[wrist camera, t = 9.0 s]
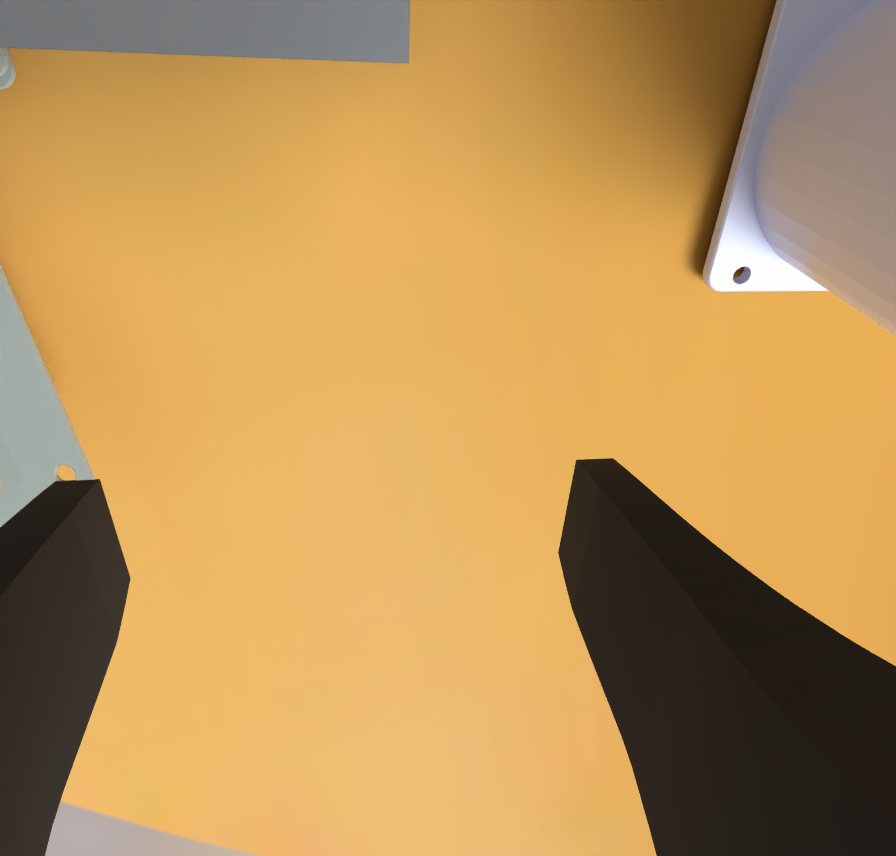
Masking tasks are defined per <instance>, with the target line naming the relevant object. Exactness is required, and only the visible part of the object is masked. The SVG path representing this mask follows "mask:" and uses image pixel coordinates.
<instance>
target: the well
mask: <svg viewBox="0 0 896 856" xmlns="http://www.w3.org/2000/svg"><path fill="white" fill-rule="evenodd" d="M409 9H410V0H0V48H23V49H49V50H75V51H101V52H127V53H152V54H178V55H204V56H230V57H256V58H282V59H307V60H333V61H359V62H385V63H409Z"/></svg>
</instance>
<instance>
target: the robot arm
mask: <svg viewBox="0 0 896 856" xmlns="http://www.w3.org/2000/svg"><path fill="white" fill-rule="evenodd" d="M740 267H744V271H743V273H742V275H740V276H739V277H738V278H735V279H733V275H734V273H735V271H736V270H737V269H739V268H740ZM703 280H704V282H705V283H706V284H707V285H708V286H709V287H710V288H711V289H713V290H714V291H719V292H732V291H830V292H831V293H833V294H834V295H836V296H837V297H839V298H840V299H842V300H843V301H845V302H846V303H848V304H849V305H851V306H852V307H853V308H855V309H856V310H858V311H859V312H861V313H862V314H864V315H865V316H867V317H868V318H870V319H871V320H873V321H874V322H876V323H877V324H879V325H880V326H882V327H883V328H885V329H886V330H888V331H889V332H891V333H892V334H894V335H895V336H896V0H777V1H776V4H775V8H774V12H773V16H772V19H771V23H770V27H769V30H768V34H767V38H766V41H765V45H764V49H763V52H762V56H761V60H760V63H759V67H758V71H757V74H756V78H755V82H754V85H753V89H752V93H751V97H750V100H749V104H748V108H747V111H746V115H745V119H744V122H743V126H742V130H741V133H740V137H739V141H738V144H737V148H736V152H735V155H734V159H733V163H732V166H731V170H730V174H729V177H728V181H727V185H726V189H725V192H724V196H723V200H722V203H721V207H720V211H719V214H718V218H717V222H716V225H715V229H714V233H713V236H712V240H711V244H710V247H709V251H708V255H707V258H706V262H705V266H704V270H703ZM558 553H559V558H560V562H561V566H562V570H563V575H564V579H565V583H566V587H567V591H568V595H569V599H570V602H571V606H572V610H573V612H574V615H575V618H576V620H577V623H578V626H579V628H580V631H581V634H582V636H583V639H584V641H585V644H586V647H587V649H588V652H589V654H590V657H591V659H592V662H593V665H594V667H595V670H596V672H597V675H598V677H599V680H600V682H601V685H602V687H603V690H604V693H605V695H606V698H607V700H608V703H609V705H610V708H611V710H612V713H613V716H614V718H615V721H616V723H617V726H618V728H619V731H620V733H621V736H622V739H623V742H624V745H625V747H626V750H627V753H628V756H629V759H630V762H631V765H632V768H633V772H634V775H635V779H636V782H637V786H638V789H639V793H640V796H641V800H642V803H643V807H644V810H645V814H646V817H647V821H648V824H649V828H650V832H651V835H652V839H653V843H654V847H655V851H656V854H657V856H896V666H894V665H892V664H891V663H889V662H887V661H885V660H884V659H882V658H880V657H878V656H877V655H875V654H873V653H871V652H870V651H868V650H866V649H865V648H863V647H861V646H860V645H858V644H856V643H855V642H853V641H851V640H850V639H848V638H846V637H845V636H843V635H841V634H840V633H838V632H837V631H835V630H834V629H832V628H831V627H829V626H828V625H826V624H824V623H823V622H821V621H820V620H818V619H817V618H815V617H814V616H812V615H811V614H809V613H808V612H806V611H804V610H803V609H801V608H800V607H798V606H797V605H795V604H794V603H792V602H791V601H789V600H788V599H787V598H785V597H784V596H782V595H781V594H779V593H778V592H777V591H775V590H774V589H772V588H771V587H770V586H768V585H767V584H766V583H764V582H763V581H762V580H760V579H759V578H758V577H756V576H755V575H754V574H752V573H751V572H750V571H748V570H747V569H745V568H744V567H743V566H741V565H740V564H739V563H737V562H736V561H735V560H734V559H732V558H731V557H730V556H728V555H727V554H726V553H725V552H723V551H722V550H721V549H720V548H718V547H717V546H716V545H715V544H713V543H712V542H711V541H710V540H708V539H707V538H706V537H705V536H704V535H702V534H701V533H700V532H699V531H698V530H696V529H695V528H694V527H693V526H691V525H690V524H689V523H688V522H687V521H686V520H684V519H683V518H682V517H681V516H680V515H678V514H677V513H676V512H675V511H674V510H673V509H671V508H670V507H669V506H668V505H667V504H666V503H665V502H663V501H662V500H661V499H660V498H659V497H658V496H656V495H655V494H654V493H653V492H652V491H651V490H650V489H648V488H647V487H646V486H645V485H644V484H643V483H642V482H640V481H639V480H638V479H637V478H636V477H635V476H633V475H632V474H631V473H630V472H629V471H628V470H626V469H625V468H624V467H623V466H622V465H620V464H619V463H618V462H617V461H615V460H614V459H613V458H611V459H587V460H576V464H575V469H574V474H573V480H572V485H571V490H570V495H569V500H568V505H567V511H566V516H565V521H564V526H563V531H562V537H561V542H560V547H559V552H558ZM129 583H130V576H129V572H128V569H127V566H126V563H125V559H124V556H123V553H122V550H121V546H120V543H119V540H118V537H117V534H116V530H115V527H114V524H113V521H112V517H111V514H110V511H109V508H108V504H107V501H106V498H105V495H104V492H103V488H102V485H101V482H100V479H96V480H72V481H55V482H54V483H52V484H51V485H50V486H49V487H47V488H46V489H45V490H44V491H42V492H41V493H40V494H39V495H38V496H36V497H35V498H34V499H33V500H32V501H30V502H29V503H28V504H27V505H26V506H25V507H23V508H22V509H21V510H20V511H19V512H18V513H16V514H15V515H14V516H13V517H12V518H11V519H9V520H8V521H7V522H6V523H5V524H4V525H3V526H1V527H0V856H45V852H46V849H47V844H48V841H49V837H50V833H51V829H52V825H53V822H54V819H55V816H56V813H57V809H58V806H59V803H60V800H61V797H62V794H63V791H64V788H65V785H66V782H67V780H68V777H69V774H70V771H71V768H72V766H73V763H74V760H75V757H76V755H77V752H78V749H79V746H80V744H81V741H82V738H83V735H84V733H85V730H86V727H87V724H88V722H89V719H90V716H91V713H92V711H93V708H94V705H95V702H96V700H97V697H98V694H99V691H100V688H101V686H102V683H103V680H104V677H105V674H106V671H107V669H108V666H109V663H110V660H111V657H112V654H113V651H114V649H115V646H116V643H117V639H118V635H119V630H120V626H121V621H122V617H123V613H124V608H125V603H126V598H127V593H128V588H129Z"/></svg>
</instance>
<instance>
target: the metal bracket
mask: <svg viewBox="0 0 896 856" xmlns="http://www.w3.org/2000/svg"><path fill="white" fill-rule="evenodd" d="M15 76H16V72H15V67H14V64H13V62H12V59H11V57H10V54H9V52H8V49H7V48H0V90H3V89H6V88H8V87H10V86H11V85H12V84H13V82H14V81H15ZM59 465H67V466H69V467H71V468H72V469H73V470H74V471H75V474H76V478H75V480H96V479H95V477H94V475H93V472H92V470H91V468H90V465H89V463H88V461H87V459H86V456H85V454H84V452H83V450H82V447H81V445H80V443H79V441H78V438H77V436H76V434H75V432H74V429H73V427H72V425H71V423H70V420H69V418H68V416H67V414H66V411H65V409H64V407H63V405H62V402H61V400H60V398H59V396H58V393H57V391H56V389H55V387H54V384H53V382H52V380H51V378H50V375H49V373H48V371H47V368H46V366H45V364H44V362H43V359H42V357H41V355H40V353H39V350H38V348H37V346H36V344H35V341H34V339H33V337H32V335H31V332H30V330H29V328H28V326H27V323H26V321H25V319H24V317H23V314H22V312H21V310H20V308H19V305H18V303H17V301H16V299H15V296H14V294H13V292H12V290H11V287H10V285H9V283H8V281H7V278H6V276H5V274H4V271H3V269H2V267H1V265H0V526H3V525H4V524H5V523H6V522H7V521H8V520H9V519H11V518H12V517H13V516H14V515H15V514H16V513H18V512H19V511H20V510H21V509H22V508H23V507H25V506H26V505H27V504H28V503H29V502H30V501H32V500H33V499H34V498H35V497H36V496H38V495H39V494H40V493H41V492H42V491H44V490H45V489H46V488H47V487H49V486H50V485H51V484H52V483H54V482H55V481H64V480H62V479H61V478H60V477H59V476H58V474H57V468H58V466H59Z"/></svg>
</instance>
